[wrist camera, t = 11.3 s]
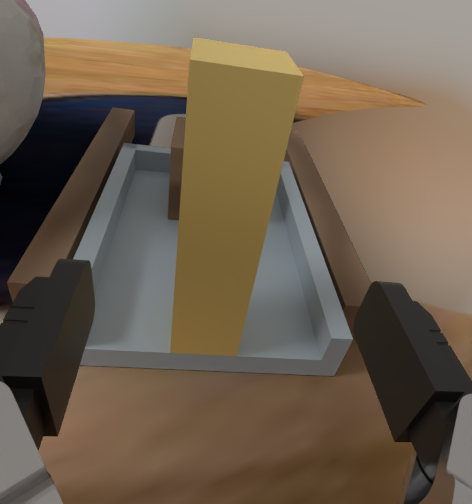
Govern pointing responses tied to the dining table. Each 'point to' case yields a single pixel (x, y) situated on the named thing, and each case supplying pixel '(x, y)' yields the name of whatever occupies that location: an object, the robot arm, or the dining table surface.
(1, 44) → the ceramic pitcher
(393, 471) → the dining table surface
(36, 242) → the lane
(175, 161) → the block
